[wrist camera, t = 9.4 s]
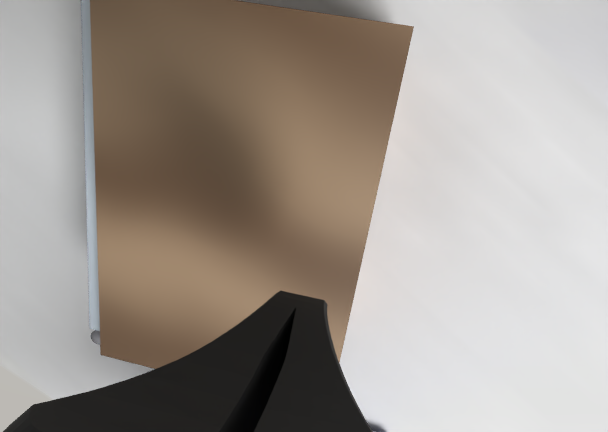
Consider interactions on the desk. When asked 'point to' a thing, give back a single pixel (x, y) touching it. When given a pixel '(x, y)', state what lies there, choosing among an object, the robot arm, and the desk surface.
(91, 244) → the door
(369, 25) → the cabinet
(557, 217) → the desk surface
